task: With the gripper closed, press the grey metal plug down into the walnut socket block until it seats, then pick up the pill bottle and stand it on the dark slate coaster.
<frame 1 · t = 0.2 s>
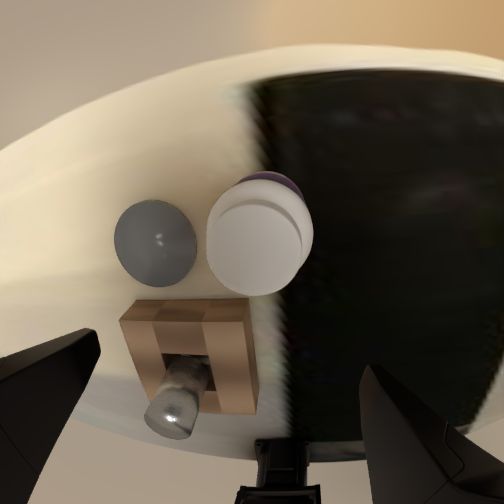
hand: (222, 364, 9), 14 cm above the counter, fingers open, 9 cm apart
plug: (179, 396, 20), point 6 cm above the counter, slide at 0.0 cm
pill bottle: (266, 208, 22), on the counter
coaster: (154, 243, 23), on the counter
socket block: (199, 348, 26), on the counter
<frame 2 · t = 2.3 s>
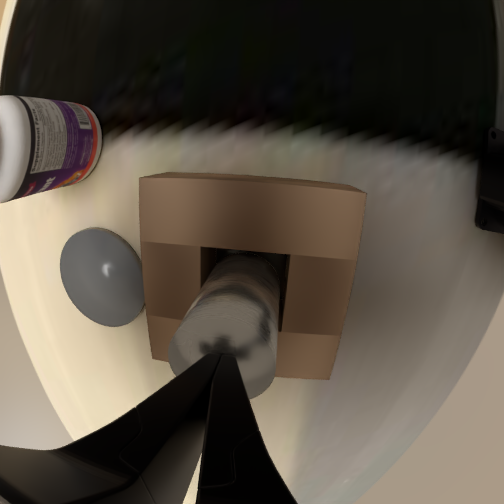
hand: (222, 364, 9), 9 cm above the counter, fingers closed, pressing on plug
plug: (234, 317, 12), point 6 cm above the counter, slide at 0.4 cm, touching gripper
pill bottle: (74, 144, 16), on the counter
coaster: (102, 277, 19), on the counter
socket block: (250, 265, 17), on the counter
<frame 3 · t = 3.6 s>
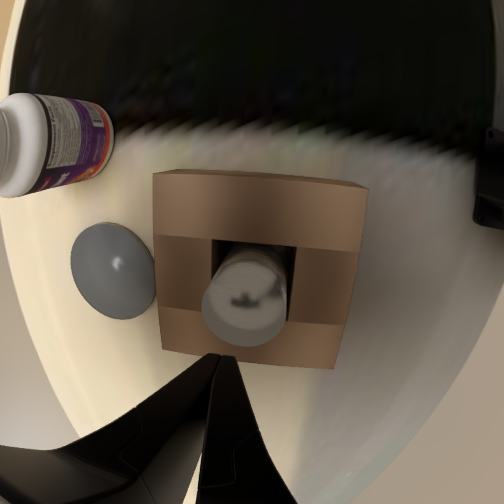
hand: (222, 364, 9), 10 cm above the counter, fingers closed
plug: (251, 281, 15), point 3 cm above the counter, slide at 2.9 cm
pill bottle: (86, 141, 17), on the counter
coaster: (112, 271, 19), on the counter
socket block: (257, 258, 18), on the counter
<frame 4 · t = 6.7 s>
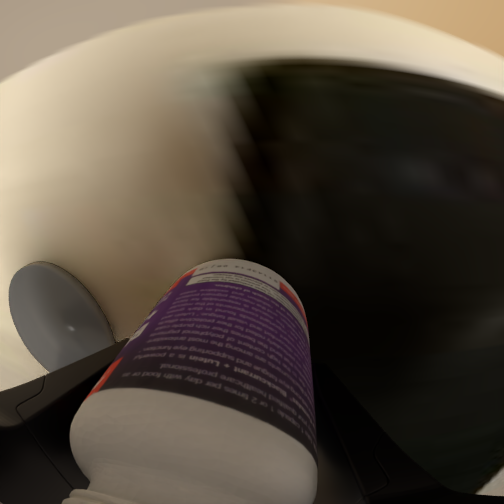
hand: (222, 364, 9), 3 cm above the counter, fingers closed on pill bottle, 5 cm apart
pill bottle: (235, 320, 11), on the counter, touching gripper
coaster: (59, 326, 12), on the counter
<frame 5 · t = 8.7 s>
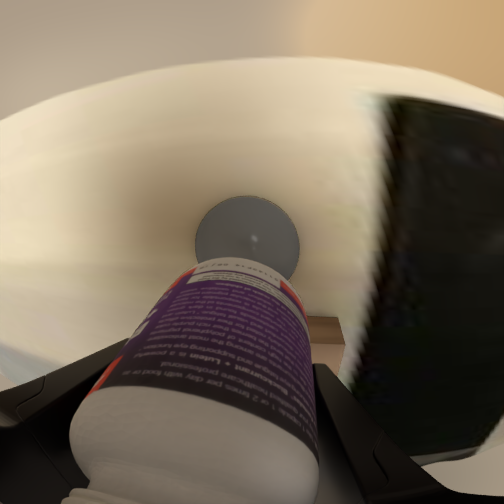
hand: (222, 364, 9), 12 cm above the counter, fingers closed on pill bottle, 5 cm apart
pill bottle: (235, 319, 11), point 10 cm above the counter, touching gripper
coaster: (247, 247, 21), on the counter
socket block: (267, 364, 24), on the counter
when the fingers open (4 cm above the counter, at t = 10.7 s): pill bottle stays where it is, resting on coaster.
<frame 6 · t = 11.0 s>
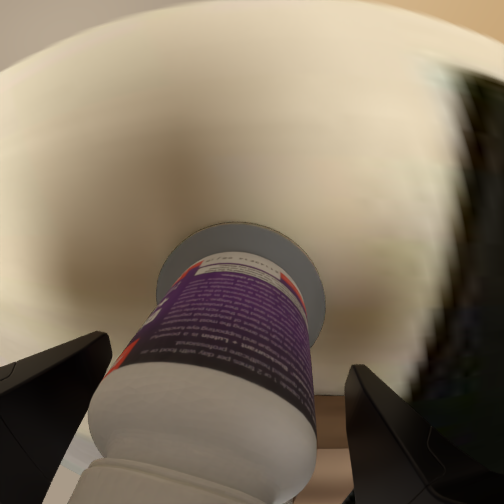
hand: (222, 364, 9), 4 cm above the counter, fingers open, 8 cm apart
plug: (261, 490, 12), point 3 cm above the counter, slide at 2.9 cm
pill bottle: (238, 309, 12), resting on coaster
coaster: (239, 304, 13), on the counter
socket block: (266, 445, 16), on the counter
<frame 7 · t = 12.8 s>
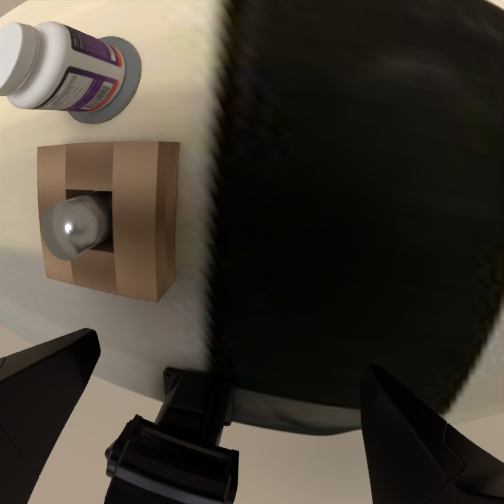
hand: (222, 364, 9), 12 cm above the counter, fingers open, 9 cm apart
plug: (88, 220, 17), point 3 cm above the counter, slide at 2.9 cm
pill bottle: (98, 79, 17), resting on coaster
coaster: (101, 79, 17), on the counter
socket block: (114, 209, 21), on the counter
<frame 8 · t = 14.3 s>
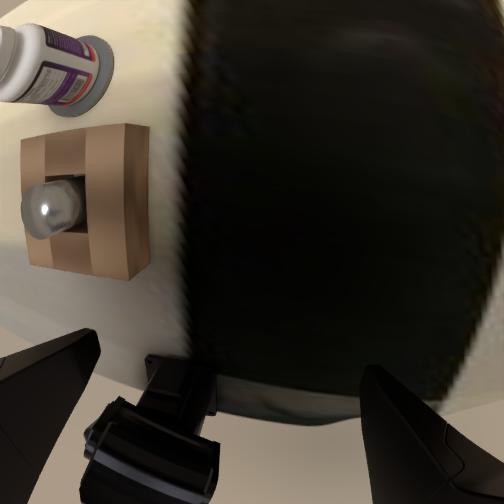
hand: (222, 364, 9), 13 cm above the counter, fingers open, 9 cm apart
plug: (65, 203, 17), point 3 cm above the counter, slide at 2.9 cm
pill bottle: (75, 75, 17), resting on coaster
coaster: (78, 75, 18), on the counter
socket block: (92, 195, 21), on the counter
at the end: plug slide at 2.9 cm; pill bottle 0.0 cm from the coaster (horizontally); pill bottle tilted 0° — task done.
